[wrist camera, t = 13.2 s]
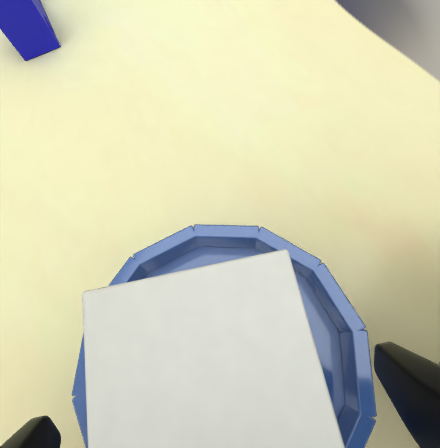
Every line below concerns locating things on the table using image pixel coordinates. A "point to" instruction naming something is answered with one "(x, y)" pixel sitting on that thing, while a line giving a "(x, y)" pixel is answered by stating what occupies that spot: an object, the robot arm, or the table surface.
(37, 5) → the blue stepped block
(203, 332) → the white block
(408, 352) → the robot arm
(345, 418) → the blue bowl
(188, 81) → the table surface
